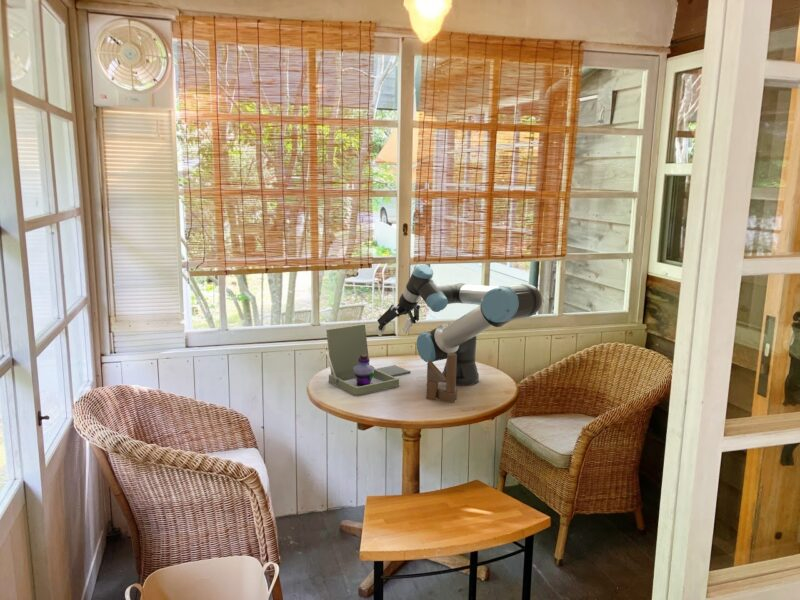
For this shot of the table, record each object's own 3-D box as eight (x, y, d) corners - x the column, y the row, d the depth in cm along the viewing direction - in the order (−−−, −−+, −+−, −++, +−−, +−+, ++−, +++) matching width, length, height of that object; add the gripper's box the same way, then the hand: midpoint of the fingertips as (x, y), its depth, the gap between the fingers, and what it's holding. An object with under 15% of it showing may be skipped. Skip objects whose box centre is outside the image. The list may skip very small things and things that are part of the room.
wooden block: (428, 396, 235) (430, 349, 232) (456, 400, 232) (458, 352, 229) (426, 399, 232) (427, 352, 229) (454, 403, 229) (456, 355, 225)
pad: (410, 373, 264) (410, 371, 264) (389, 377, 257) (389, 375, 257) (394, 366, 272) (394, 365, 272) (373, 370, 266) (373, 369, 266)
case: (398, 386, 246) (399, 335, 242) (354, 396, 234) (354, 342, 230) (365, 371, 265) (365, 323, 261) (322, 380, 252) (322, 330, 249)
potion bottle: (372, 388, 243) (373, 358, 241) (350, 387, 244) (351, 357, 242) (375, 381, 252) (376, 352, 250) (354, 380, 253) (354, 351, 250)
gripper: (429, 288, 264) (410, 323, 277) (381, 292, 250) (363, 329, 262) (438, 301, 260) (419, 336, 273) (389, 305, 245) (371, 342, 258)
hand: (391, 332), depth 267 cm, fingers open, 13 cm apart
